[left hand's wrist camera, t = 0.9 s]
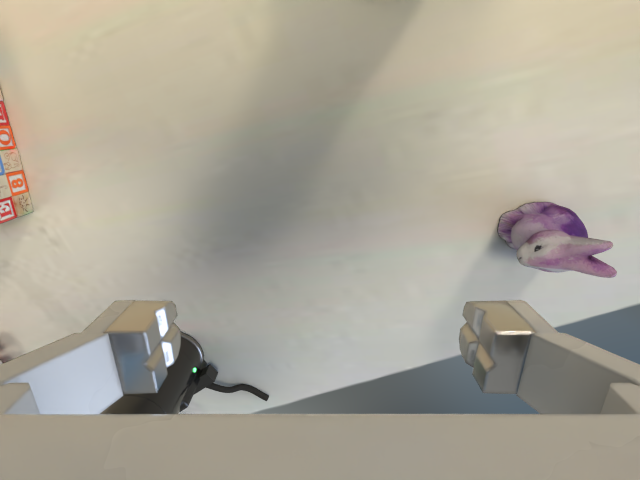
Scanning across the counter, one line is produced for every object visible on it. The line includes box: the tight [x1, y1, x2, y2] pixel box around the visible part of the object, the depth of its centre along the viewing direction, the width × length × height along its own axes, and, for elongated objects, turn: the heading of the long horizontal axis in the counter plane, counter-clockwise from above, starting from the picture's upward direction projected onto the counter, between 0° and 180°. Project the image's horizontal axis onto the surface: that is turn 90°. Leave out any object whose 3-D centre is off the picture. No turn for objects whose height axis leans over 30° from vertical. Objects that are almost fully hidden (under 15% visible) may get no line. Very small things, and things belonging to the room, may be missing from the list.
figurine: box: [498, 202, 617, 278], centre depth 46 cm, size 9×10×15 cm
